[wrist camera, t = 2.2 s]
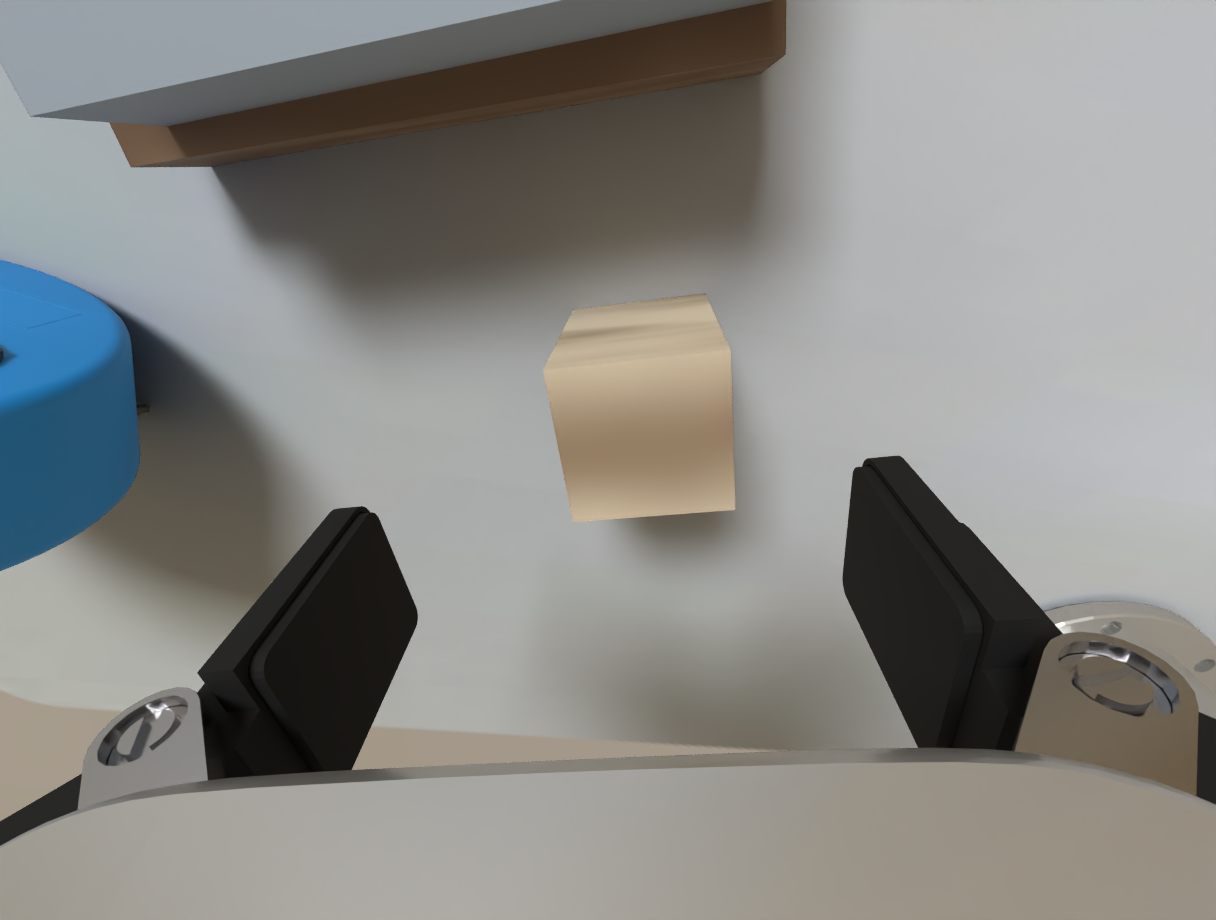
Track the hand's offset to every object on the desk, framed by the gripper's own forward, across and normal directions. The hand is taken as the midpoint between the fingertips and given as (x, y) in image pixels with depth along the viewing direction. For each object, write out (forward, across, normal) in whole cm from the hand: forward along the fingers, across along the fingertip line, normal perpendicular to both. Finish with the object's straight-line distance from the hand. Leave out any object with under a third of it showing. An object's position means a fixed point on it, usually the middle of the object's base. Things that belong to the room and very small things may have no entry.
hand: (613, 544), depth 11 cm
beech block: (+12, -1, +1) cm, 12 cm away
